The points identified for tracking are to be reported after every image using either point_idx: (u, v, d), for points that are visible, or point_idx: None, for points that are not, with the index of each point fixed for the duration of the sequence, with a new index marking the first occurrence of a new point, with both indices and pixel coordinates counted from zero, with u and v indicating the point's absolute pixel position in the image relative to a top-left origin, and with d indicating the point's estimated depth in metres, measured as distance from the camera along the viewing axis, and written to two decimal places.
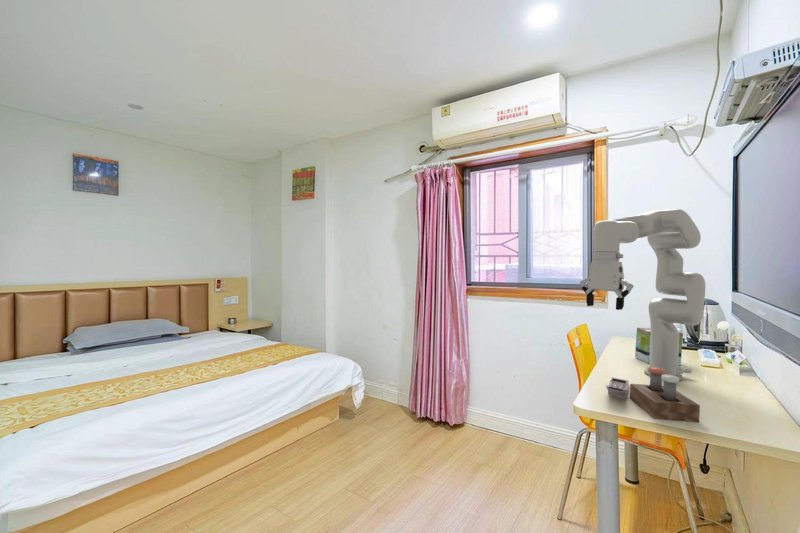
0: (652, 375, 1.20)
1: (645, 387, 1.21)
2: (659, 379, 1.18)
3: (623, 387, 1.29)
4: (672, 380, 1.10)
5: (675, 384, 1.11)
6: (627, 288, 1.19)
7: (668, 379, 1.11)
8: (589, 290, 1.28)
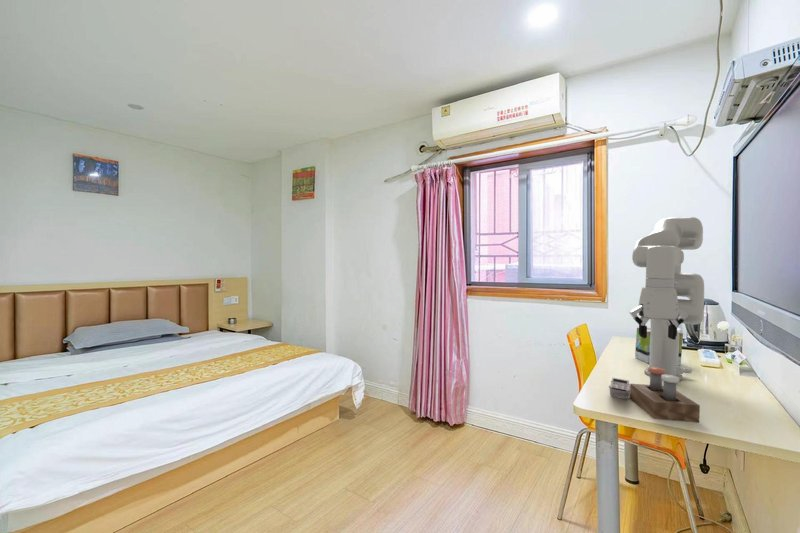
0: (652, 375, 1.20)
1: (645, 387, 1.21)
2: (659, 379, 1.18)
3: (625, 387, 1.29)
4: (672, 380, 1.10)
5: (675, 384, 1.11)
6: (682, 317, 1.18)
7: (668, 379, 1.11)
8: (646, 320, 1.19)
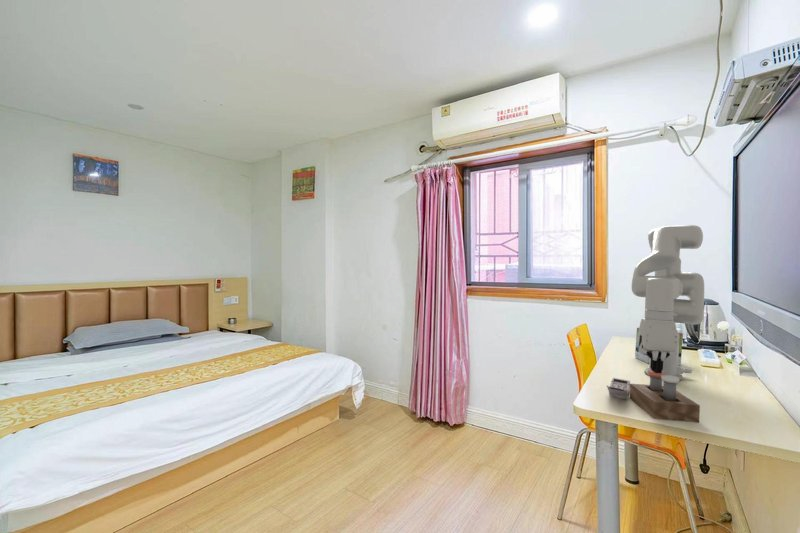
0: (652, 378, 1.20)
1: (645, 387, 1.21)
2: (659, 382, 1.18)
3: (624, 387, 1.28)
4: (672, 380, 1.10)
5: (675, 384, 1.11)
6: (670, 353, 1.18)
7: (668, 379, 1.11)
8: (655, 354, 1.18)
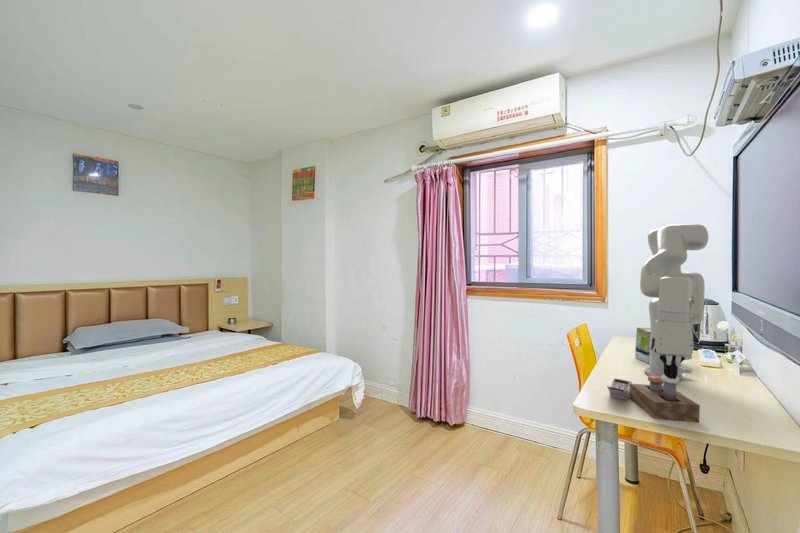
0: (652, 384, 1.20)
1: (645, 387, 1.21)
2: (659, 388, 1.19)
3: (625, 388, 1.28)
4: (672, 380, 1.10)
5: (675, 384, 1.11)
6: (686, 357, 1.11)
7: (668, 379, 1.11)
8: (669, 358, 1.11)
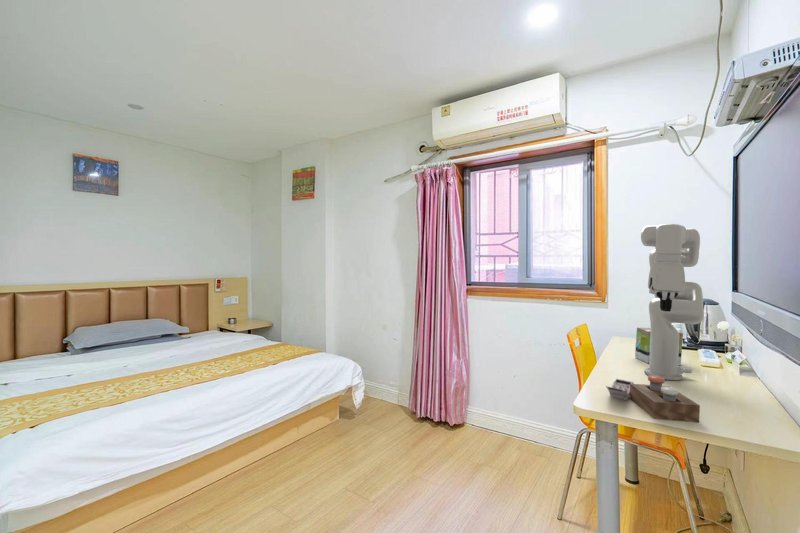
0: (652, 384, 1.20)
1: (645, 387, 1.21)
2: (659, 388, 1.19)
3: (626, 388, 1.28)
4: (671, 392, 1.10)
5: (674, 396, 1.11)
6: (679, 292, 1.29)
7: (668, 391, 1.11)
8: (664, 294, 1.29)
